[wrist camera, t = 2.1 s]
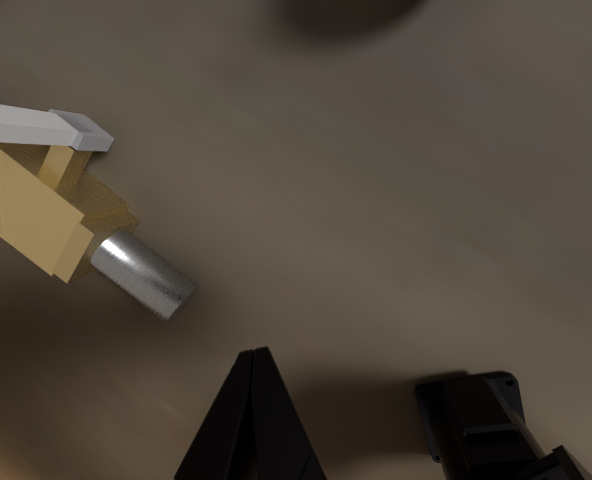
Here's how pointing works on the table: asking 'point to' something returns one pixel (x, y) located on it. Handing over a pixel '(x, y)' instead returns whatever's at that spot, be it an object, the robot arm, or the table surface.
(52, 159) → the valve
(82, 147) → the lever
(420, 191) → the table surface
